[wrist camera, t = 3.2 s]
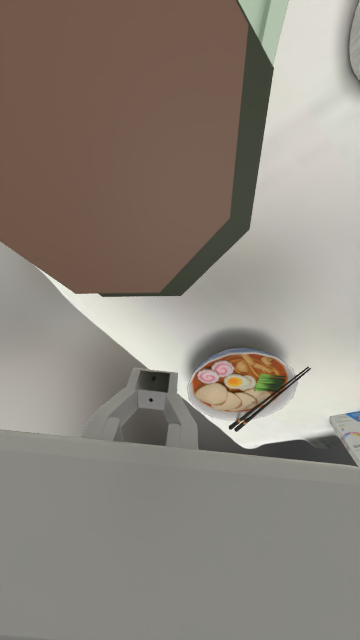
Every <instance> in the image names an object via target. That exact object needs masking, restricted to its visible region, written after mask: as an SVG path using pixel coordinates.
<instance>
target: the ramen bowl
mask: <svg viewBox="0 0 360 640" xmlns="http://www.w3.org/2000/svg"><path fill="white" fill-rule="evenodd" d="M308 368H309V367H307V368H306V369H308ZM306 369H304V370H303V371H302V372H300V373H299V374H298V375H296V376H295V374H294V371H293V369H292V368H291V367H289V366H288V365H287V364H285V363H284V362H283V361H281V360H280V359H279V358H277V357H276V356H274V355H272V354H269V353H266V352H262V351H258V350H254V349H250V348H235V349H227V350H224V351H222V352H219V353H216V354H214V355H212V356H211V357H209V358H208V359H207V360H206V361H204V362H203V363H202V364H201V365H199V366H198V367H197V368H196V370H195V371H194V373H193V375H192V377H191V379H190V381H189V384H188V386H187V391H188V397H189V400H190V401H191V403H192V404H193V405H194V406H195V407H196V408H197V409H198V410H199V411H201V412H203V413H205V414H207V415H209V416H211V417H214V418H219V419H224V420H229V421H230V420H237V421H235V422H234V423H233V424H231V425H230V426H229V429H230V430H231V429H233V428H234V427H235V426H236V425H238V424H239V423H240V422H241V421H243V420H244V422H242V423H241V424H240V425H238V426H237V427H236V428H235V431H236V432H237V431H238V430H240V429H241V428H242V427H243V426H244V425H245V424H246V423H248V422H249V421H250V420H251V419H255V418H259V417H264V416H267V415H269V414H271V413H273V412H275V411H277V410H279V409H281V408H282V407H283V406H284V405H285V404H286V403H287V402H288V401H289V400H290V399H291V398H292V397H293V396H294V393H295V390H296V387H297V384H298V382H297V380H298V379H299V378H301V377H302V376H303V375H304V374H305V373H306V372H308V371H309V370H310V369H311V368H309V369H308V370H307V371H306V372H304V371H305V370H306ZM303 372H304V373H303ZM301 373H303V374H302V375H301V376H299V375H300V374H301ZM298 376H299V377H298ZM296 377H298V378H297V379H296Z"/></svg>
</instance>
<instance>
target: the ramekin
mask: <svg viewBox="0 0 360 640" xmlns="http://www.w3.org/2000/svg"><path fill="white" fill-rule="evenodd" d="M349 52H350V61H351V65H352V68H353V70H354V73H355V75H356V76H357V78H358V79H359V80H360V0H359V3H358V6H357V8H356V12H355V16H354V19H353V24H352V29H351V35H350V48H349Z"/></svg>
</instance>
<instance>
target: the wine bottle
mask: <svg viewBox="0 0 360 640" xmlns="http://www.w3.org/2000/svg"><path fill="white" fill-rule="evenodd" d="M273 70H274V67H273V65H272V64H271V62H270V60H269V58H268V56H267V54H266V52H265V50H264V48H263V46H262V45H261V43H260V41H259V39H258V37H257V35H256V33H255V31H254V29H253V27H252V26H251V24H250V22H249V20H248V18H247V16H246V14H245V12H244V10H243V8H242V7H241V5H240V3H239V1H238V0H0V241H1V242H2V243H4V244H5V245H6V246H8V247H9V248H11V249H12V250H14V251H15V252H17V253H18V254H19V255H21V256H22V257H24V258H25V259H27V260H28V261H29V262H31V263H32V264H34V265H35V266H37V267H38V268H39V269H41V270H42V271H44V272H45V273H47V274H48V275H50V276H51V277H52V278H54V279H55V280H57V281H58V282H60V283H61V284H62V285H64V286H65V287H67V288H68V289H70V290H71V291H73V292H74V293H75V294H88V293H98V294H99V295H101V296H102V297H122V296H181V295H182V294H183V293H184V292H185V291H186V290H187V289H188V288H189V287H190V286H192V285H193V284H194V283H195V282H196V281H197V280H198V279H199V278H200V277H201V276H202V275H203V274H204V273H205V272H206V271H207V270H208V269H209V268H210V267H211V266H212V265H213V264H214V263H215V262H216V261H217V260H218V259H219V258H220V257H221V256H222V255H223V254H224V253H226V252H227V251H228V250H229V249H230V248H231V247H232V246H233V245H234V244H235V243H236V242H237V241H238V240H239V239H240V238H241V237H242V236H243V235H244V234H245V233H246V232H247V231H248V230H249V228H250V222H251V215H252V208H253V202H254V195H255V189H256V182H257V175H258V169H259V162H260V156H261V149H262V142H263V136H264V129H265V123H266V116H267V109H268V103H269V96H270V90H271V83H272V76H273Z"/></svg>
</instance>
